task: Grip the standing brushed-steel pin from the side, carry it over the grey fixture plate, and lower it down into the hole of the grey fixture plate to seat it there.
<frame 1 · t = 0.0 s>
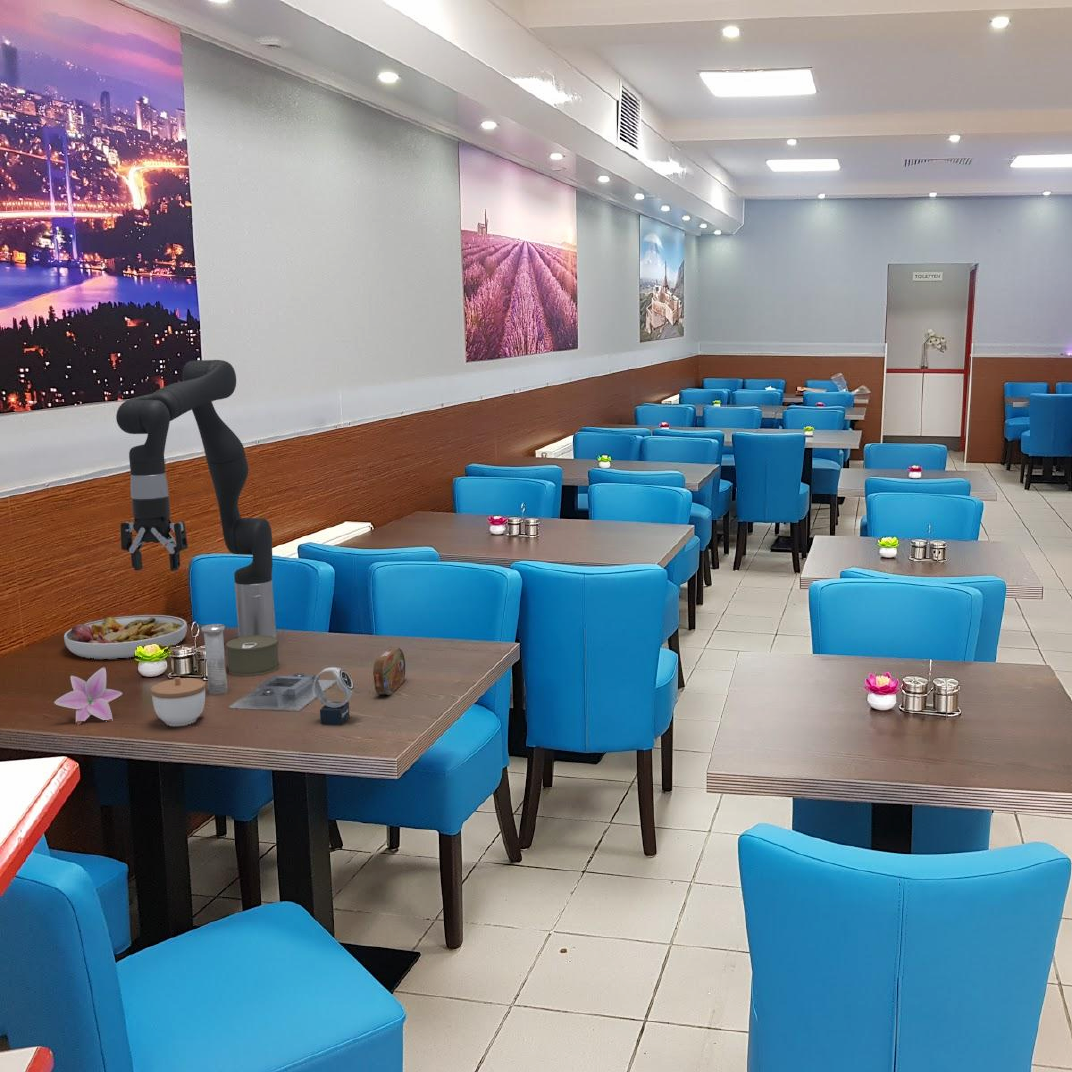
hand: (156, 570, 251), 29 cm above the table, tool pointing down, fingers open, 8 cm apart
grey fixture plate: (284, 694, 258), on the table
can: (254, 670, 279), on the table
watch: (335, 721, 240), on the table
bowl: (128, 648, 304), on the table
lidded jar: (181, 722, 242), on the table
lily: (91, 720, 245), on the table
tin: (390, 690, 260), on the table
steel pin: (218, 691, 262), on the table
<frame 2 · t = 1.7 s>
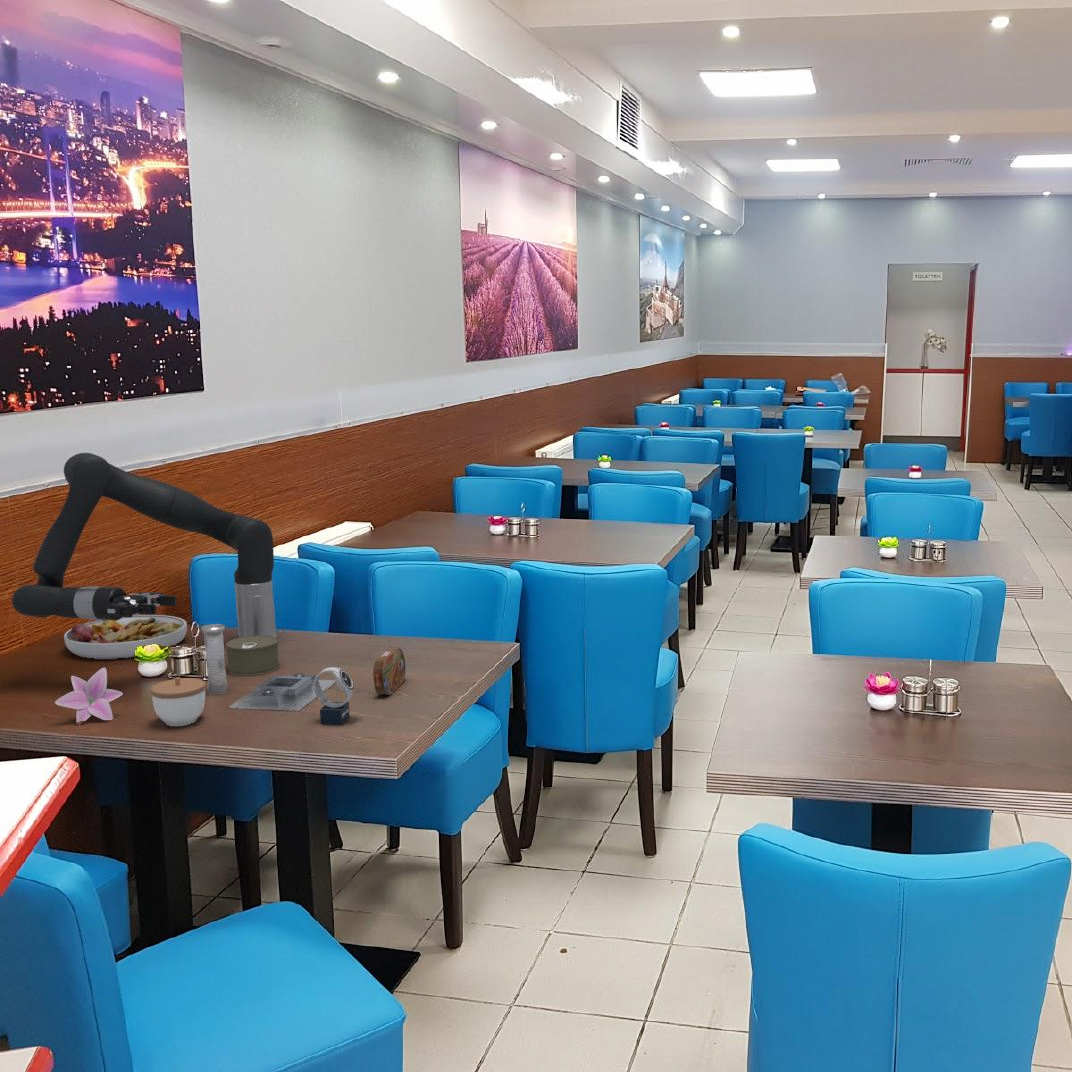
hand: (165, 605, 261), 20 cm above the table, tool horizontal, fingers open, 8 cm apart
nothing on the table moved.
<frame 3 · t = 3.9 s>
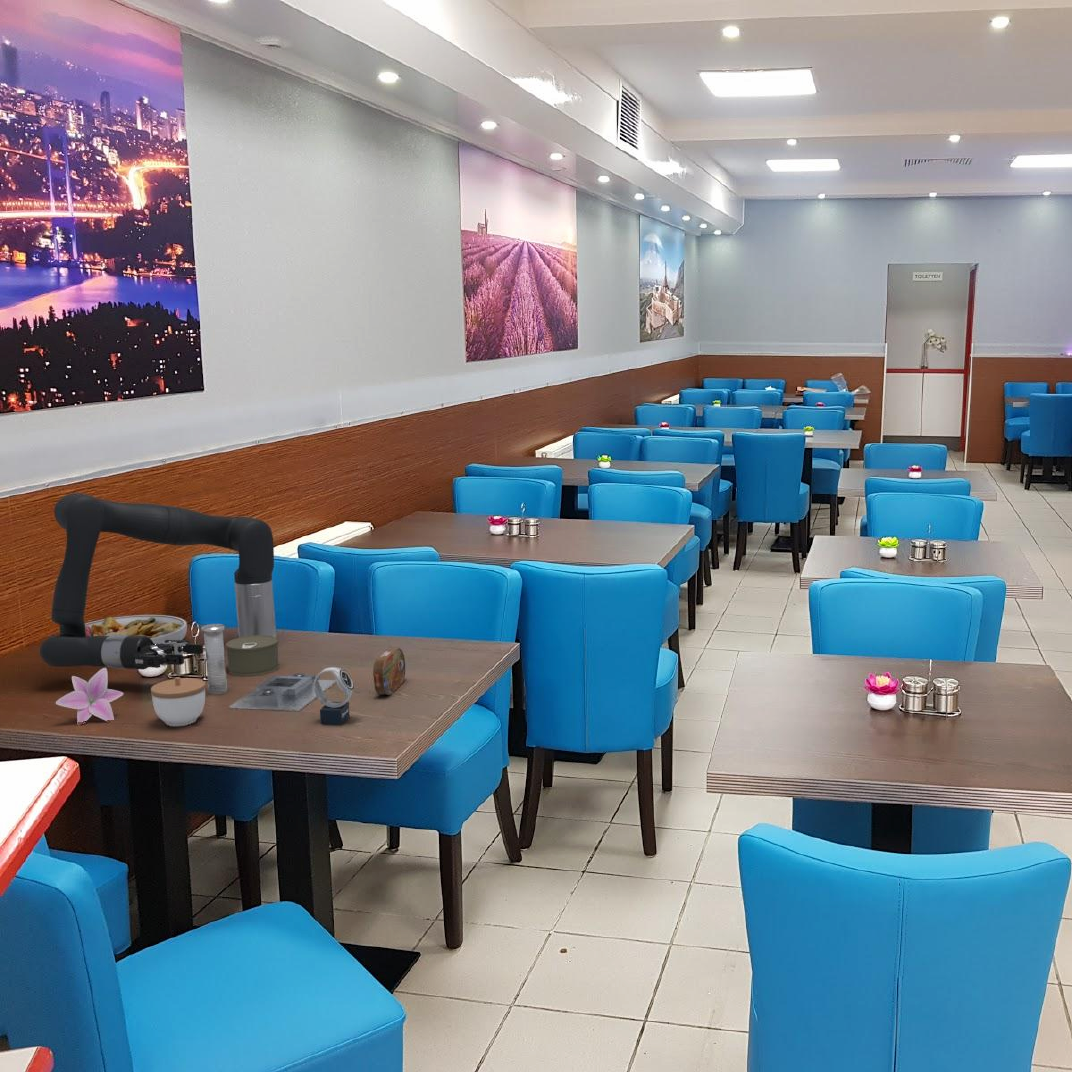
hand: (193, 654, 261), 8 cm above the table, tool horizontal, fingers open, 8 cm apart
nothing on the table moved.
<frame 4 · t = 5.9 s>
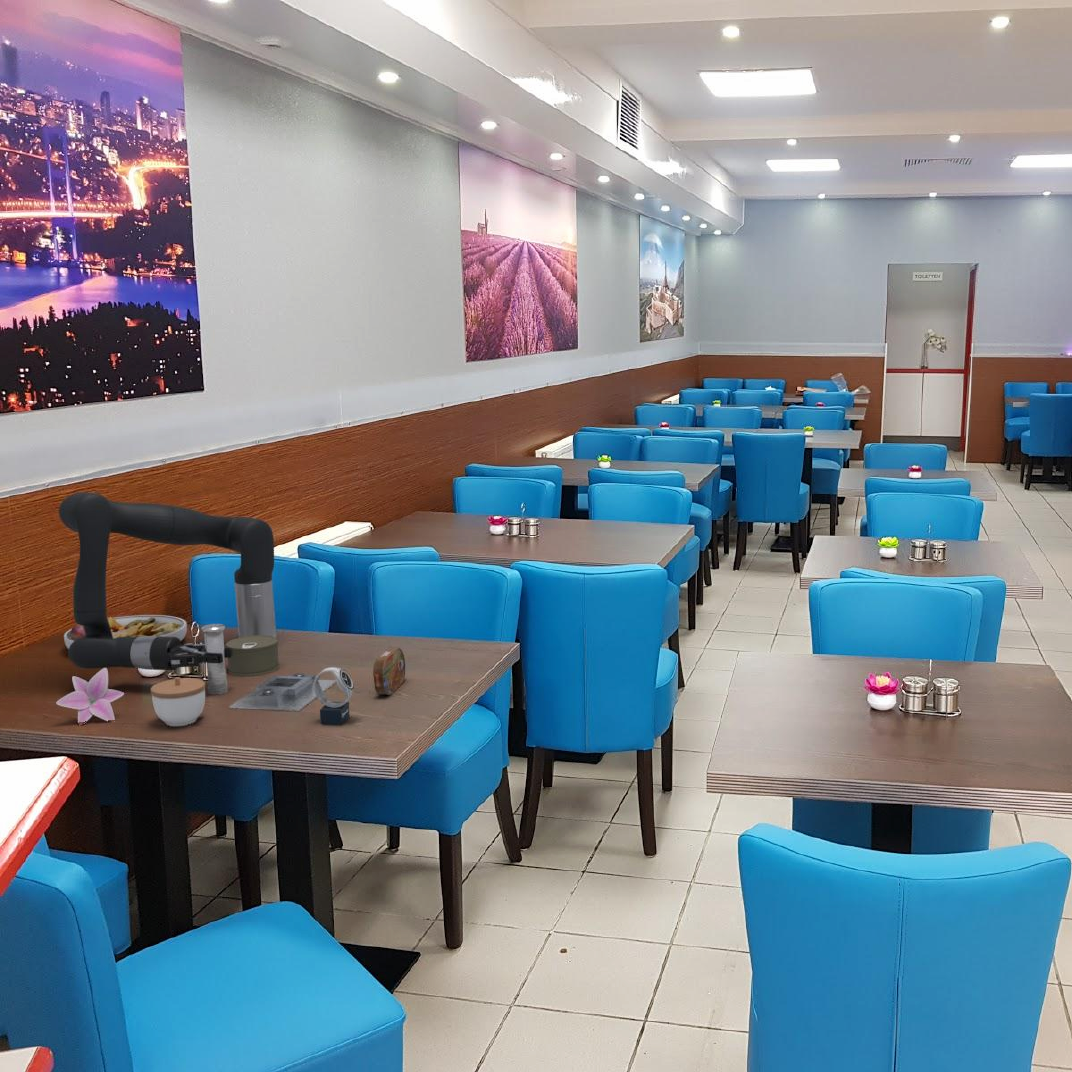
hand: (226, 655, 260), 8 cm above the table, tool horizontal, fingers closed on steel pin, 4 cm apart
steel pin: (218, 691, 262), on the table, touching gripper
everything else where it was.
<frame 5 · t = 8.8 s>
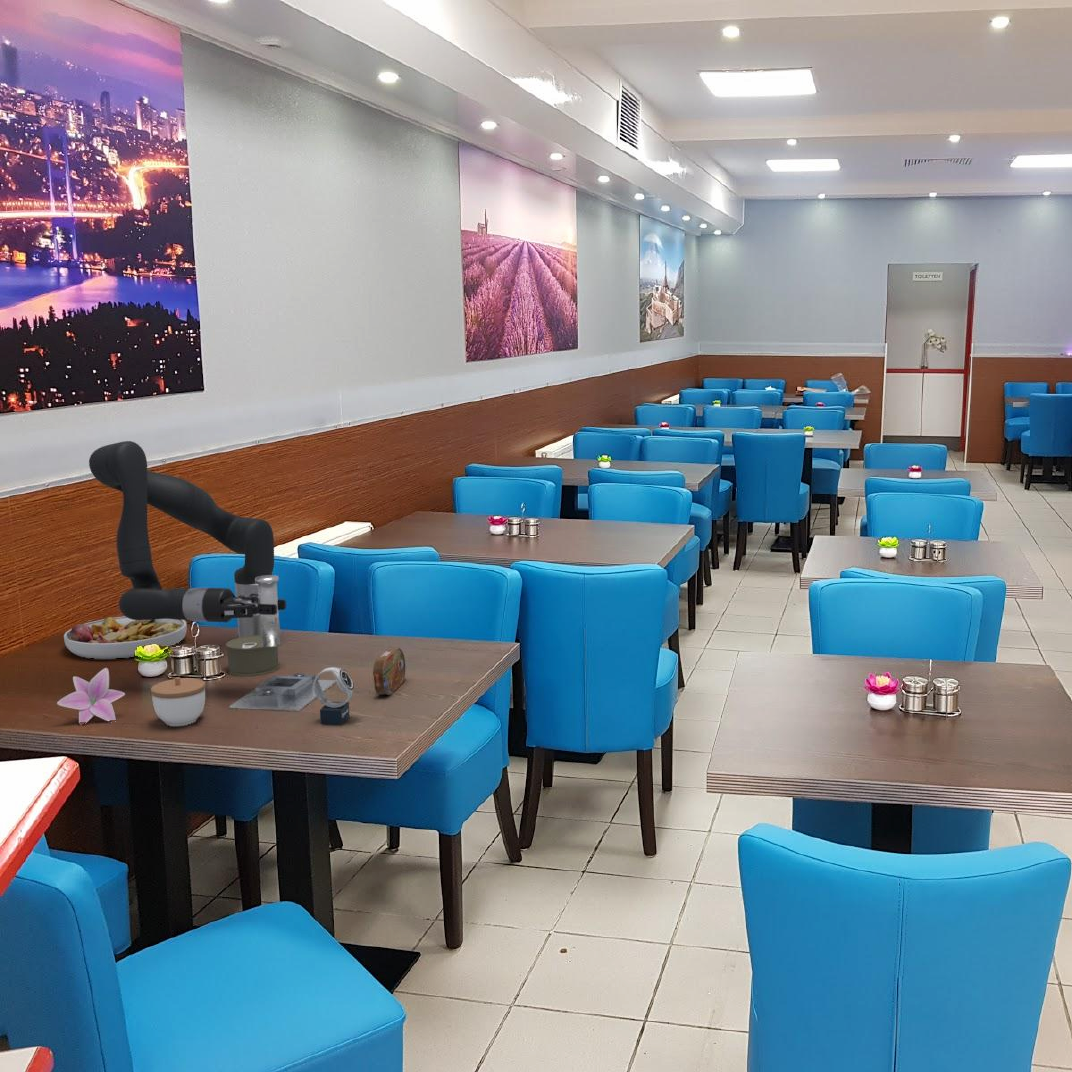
hand: (280, 607, 254), 20 cm above the table, tool horizontal, fingers closed on steel pin, 4 cm apart
steel pin: (271, 644, 256), point 11 cm above the table, touching gripper
everything else where it was.
when the fingers open (9 cm above the table, at t = 11.9 s): steel pin stays where it is, resting on grey fixture plate.
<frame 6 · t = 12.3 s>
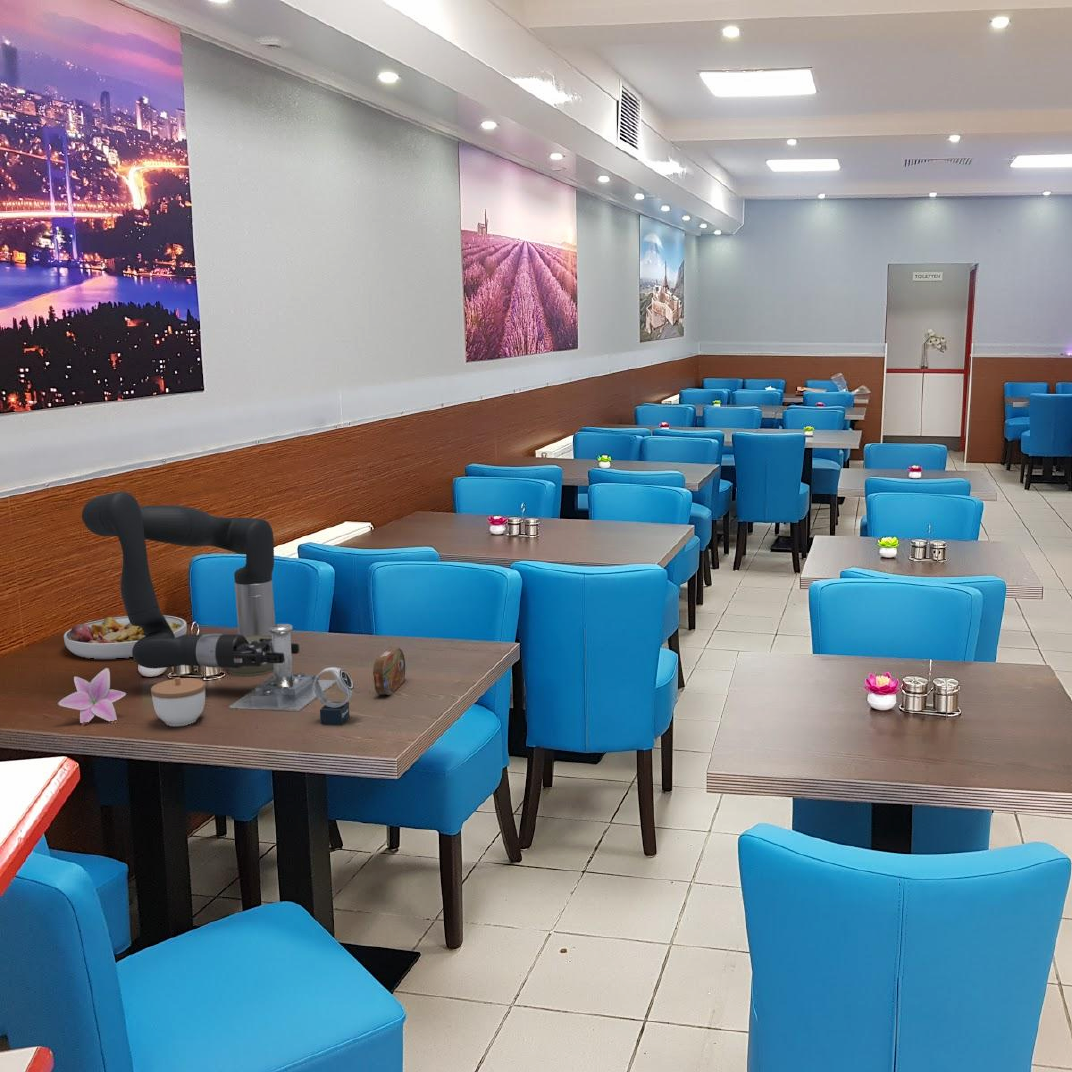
hand: (291, 653, 256), 10 cm above the table, tool horizontal, fingers open, 7 cm apart
steel pin: (284, 692, 258), resting on grey fixture plate
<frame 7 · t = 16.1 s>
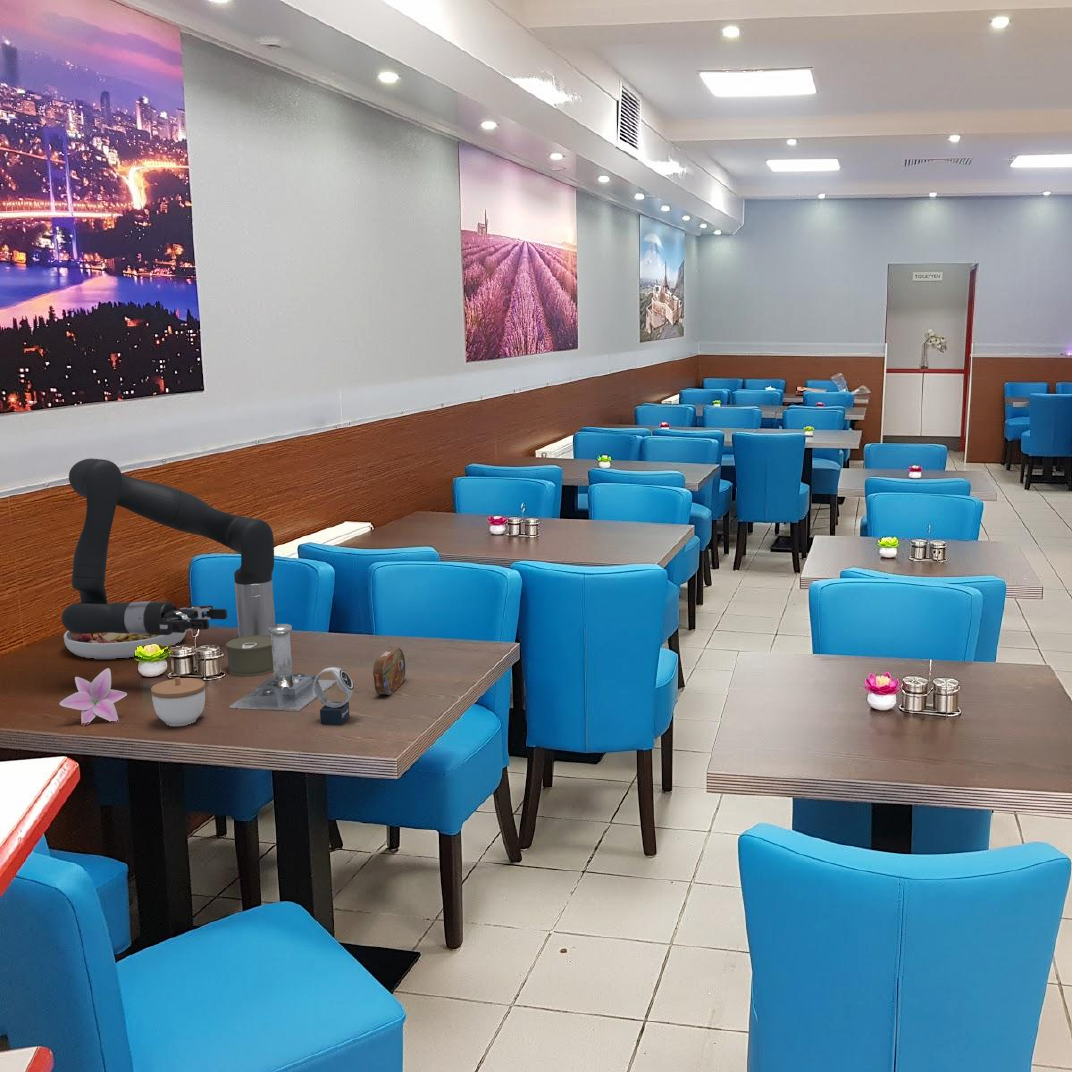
hand: (217, 619, 259), 17 cm above the table, tool horizontal, fingers open, 8 cm apart
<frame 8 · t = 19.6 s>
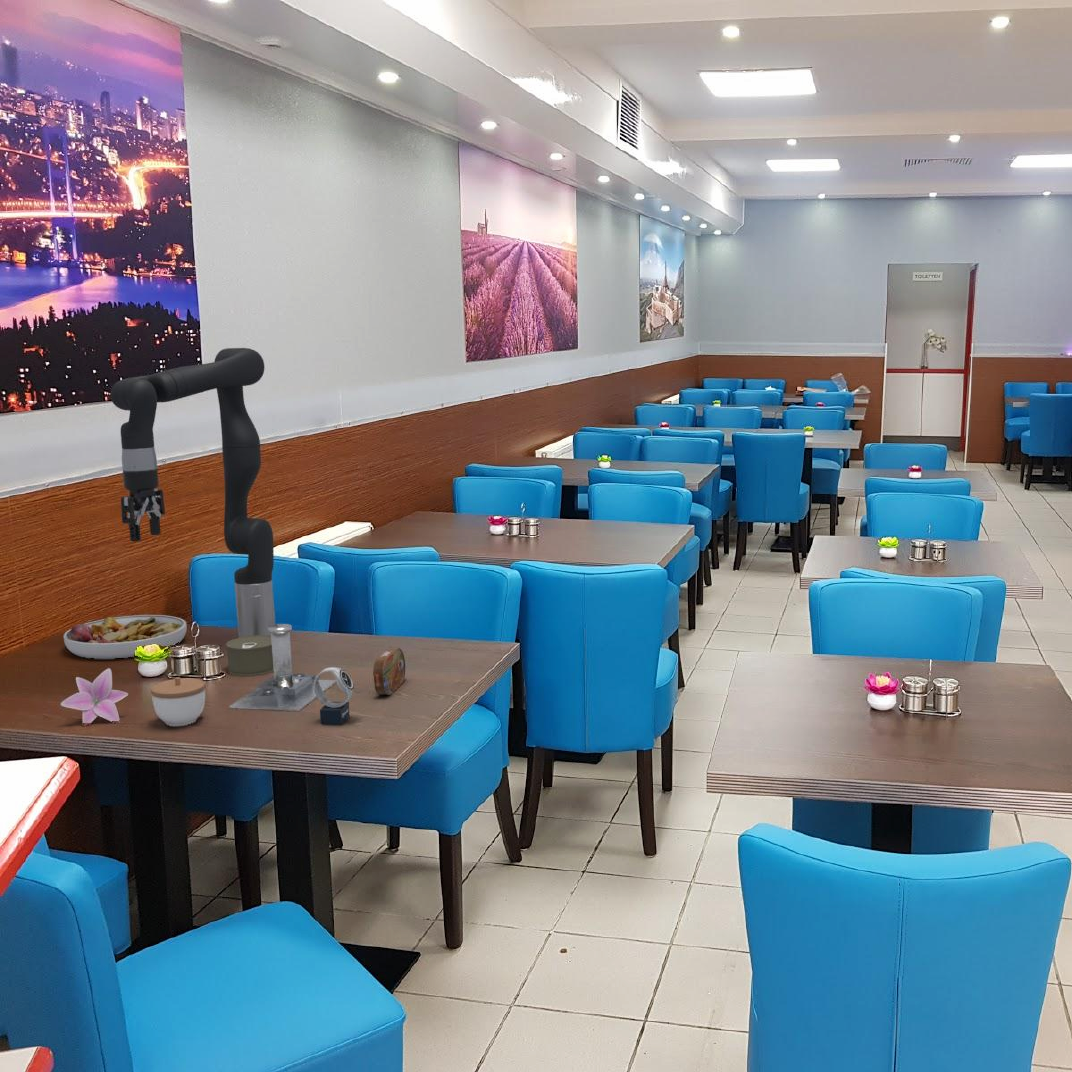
hand: (145, 537, 269), 33 cm above the table, tool pointing down, fingers open, 8 cm apart
at the end: steel pin 0.1 cm off-centre on the grey fixture plate, point 0.4 cm above the grey fixture plate's base; steel pin tilted 0°; the gripper is holding nothing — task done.
